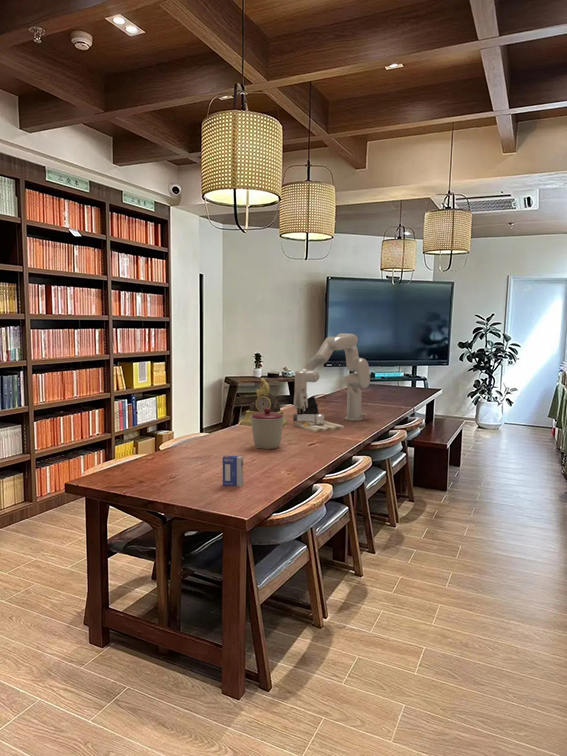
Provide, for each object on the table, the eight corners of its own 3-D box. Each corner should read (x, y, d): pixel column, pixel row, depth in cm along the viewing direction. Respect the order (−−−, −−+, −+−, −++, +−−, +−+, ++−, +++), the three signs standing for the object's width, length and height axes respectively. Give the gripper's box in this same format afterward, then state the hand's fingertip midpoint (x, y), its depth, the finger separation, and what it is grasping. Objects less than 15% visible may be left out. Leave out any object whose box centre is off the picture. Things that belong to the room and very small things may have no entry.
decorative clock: (239, 425, 333) (239, 378, 330) (246, 421, 345) (246, 376, 342) (282, 428, 325) (282, 380, 322) (287, 424, 337) (288, 378, 334)
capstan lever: (323, 423, 330) (323, 413, 330) (324, 424, 325) (324, 415, 324) (293, 422, 330) (293, 413, 330) (293, 424, 324) (293, 415, 324)
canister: (262, 441, 286) (262, 403, 284) (290, 446, 277) (291, 406, 275) (243, 448, 270) (243, 408, 268) (272, 453, 261) (272, 411, 259)
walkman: (222, 485, 208) (222, 456, 207) (224, 483, 211) (224, 454, 210) (241, 486, 207) (241, 457, 206) (243, 484, 210) (243, 455, 209)
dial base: (323, 422, 343) (323, 417, 342) (344, 428, 324) (344, 423, 324) (295, 425, 331) (295, 420, 331) (315, 432, 313) (315, 426, 312)
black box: (322, 416, 357) (313, 396, 358) (305, 423, 361) (296, 403, 362) (323, 415, 361) (314, 395, 361) (306, 422, 365) (297, 402, 365)
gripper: (312, 391, 324) (311, 420, 326) (299, 388, 337) (298, 416, 339) (301, 392, 321) (301, 421, 322) (289, 389, 333) (288, 417, 335)
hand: (299, 419), depth 331 cm, fingers closed
